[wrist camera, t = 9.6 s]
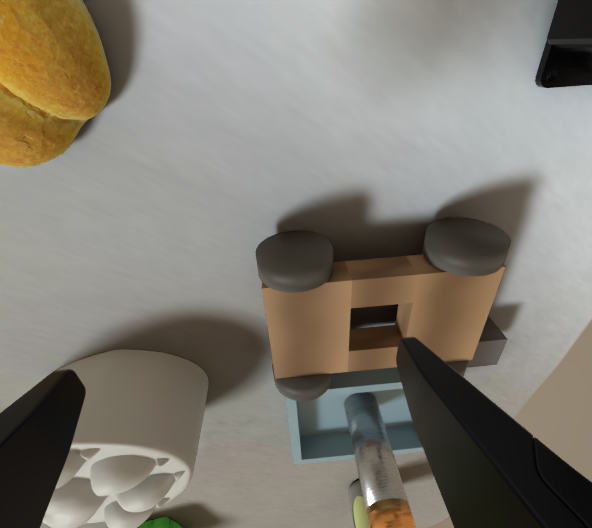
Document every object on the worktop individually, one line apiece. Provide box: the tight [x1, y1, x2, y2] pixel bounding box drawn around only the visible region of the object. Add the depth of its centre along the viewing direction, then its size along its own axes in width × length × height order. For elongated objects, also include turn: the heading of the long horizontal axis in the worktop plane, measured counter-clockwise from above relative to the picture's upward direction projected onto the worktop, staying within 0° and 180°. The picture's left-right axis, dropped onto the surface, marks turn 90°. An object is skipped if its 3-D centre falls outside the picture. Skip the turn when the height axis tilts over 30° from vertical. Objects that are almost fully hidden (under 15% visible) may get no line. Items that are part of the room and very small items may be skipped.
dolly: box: [256, 218, 511, 401], centre depth 22 cm, size 17×12×4 cm
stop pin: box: [344, 392, 416, 528], centre depth 26 cm, size 3×3×10 cm
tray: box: [285, 367, 424, 465], centre depth 29 cm, size 13×11×3 cm
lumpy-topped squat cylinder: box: [42, 350, 209, 528], centre depth 25 cm, size 10×13×9 cm
